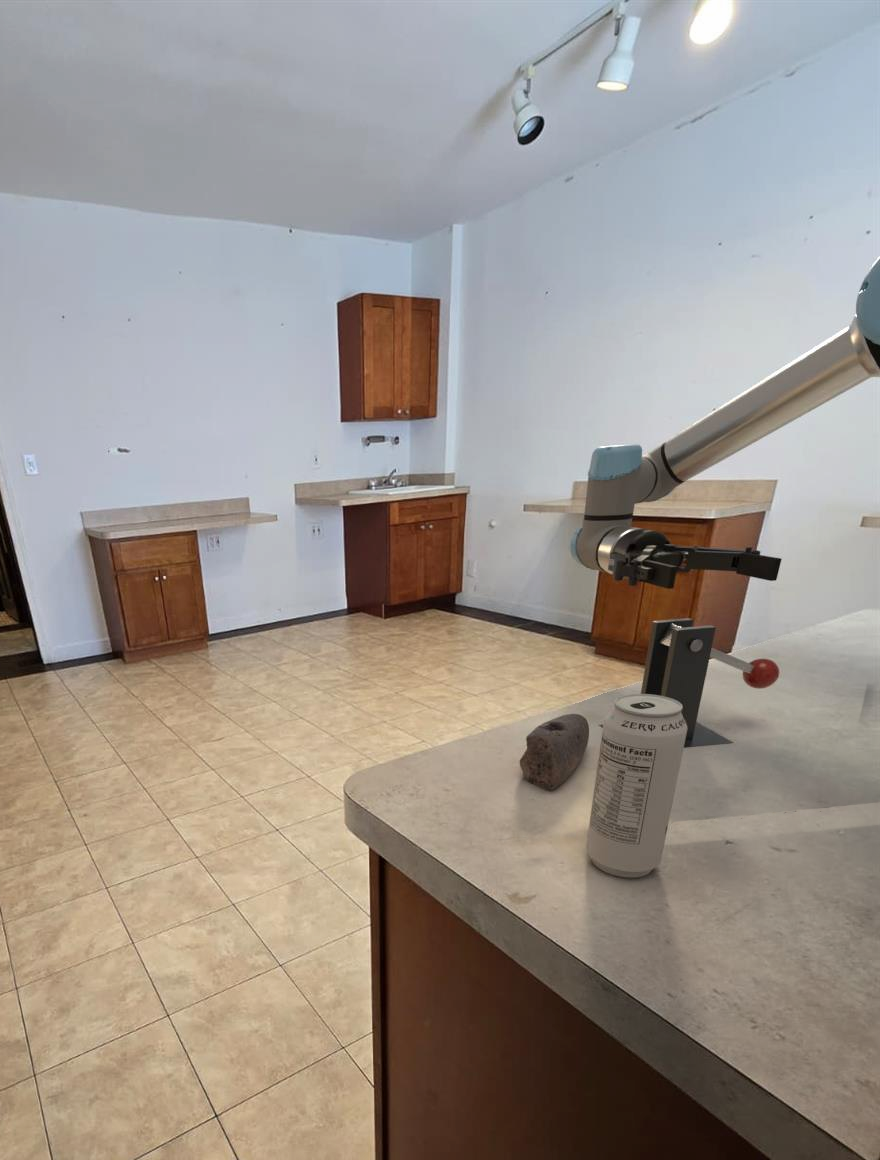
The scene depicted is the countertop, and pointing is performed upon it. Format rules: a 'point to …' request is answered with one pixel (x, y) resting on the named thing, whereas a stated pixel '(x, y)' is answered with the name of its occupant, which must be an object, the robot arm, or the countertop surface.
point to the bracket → (681, 673)
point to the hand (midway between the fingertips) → (724, 573)
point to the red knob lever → (741, 665)
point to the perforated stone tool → (554, 750)
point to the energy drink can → (635, 783)
